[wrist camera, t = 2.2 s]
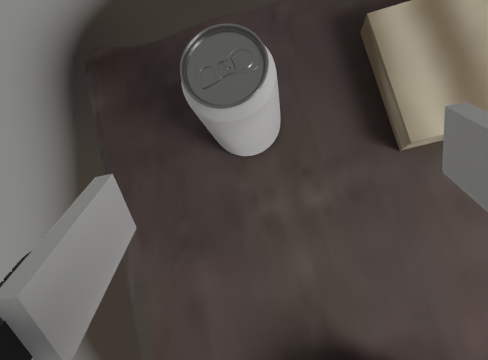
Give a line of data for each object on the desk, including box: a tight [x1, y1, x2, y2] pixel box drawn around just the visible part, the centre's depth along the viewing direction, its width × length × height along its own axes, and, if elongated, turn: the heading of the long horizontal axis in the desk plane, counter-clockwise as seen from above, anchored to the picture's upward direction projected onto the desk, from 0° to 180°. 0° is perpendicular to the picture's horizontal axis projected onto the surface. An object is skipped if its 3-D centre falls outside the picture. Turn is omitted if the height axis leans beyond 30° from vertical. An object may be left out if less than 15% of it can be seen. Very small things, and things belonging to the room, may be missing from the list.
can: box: [180, 24, 280, 156], centre depth 27 cm, size 6×6×12 cm
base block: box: [360, 0, 488, 151], centre depth 30 cm, size 12×12×3 cm
